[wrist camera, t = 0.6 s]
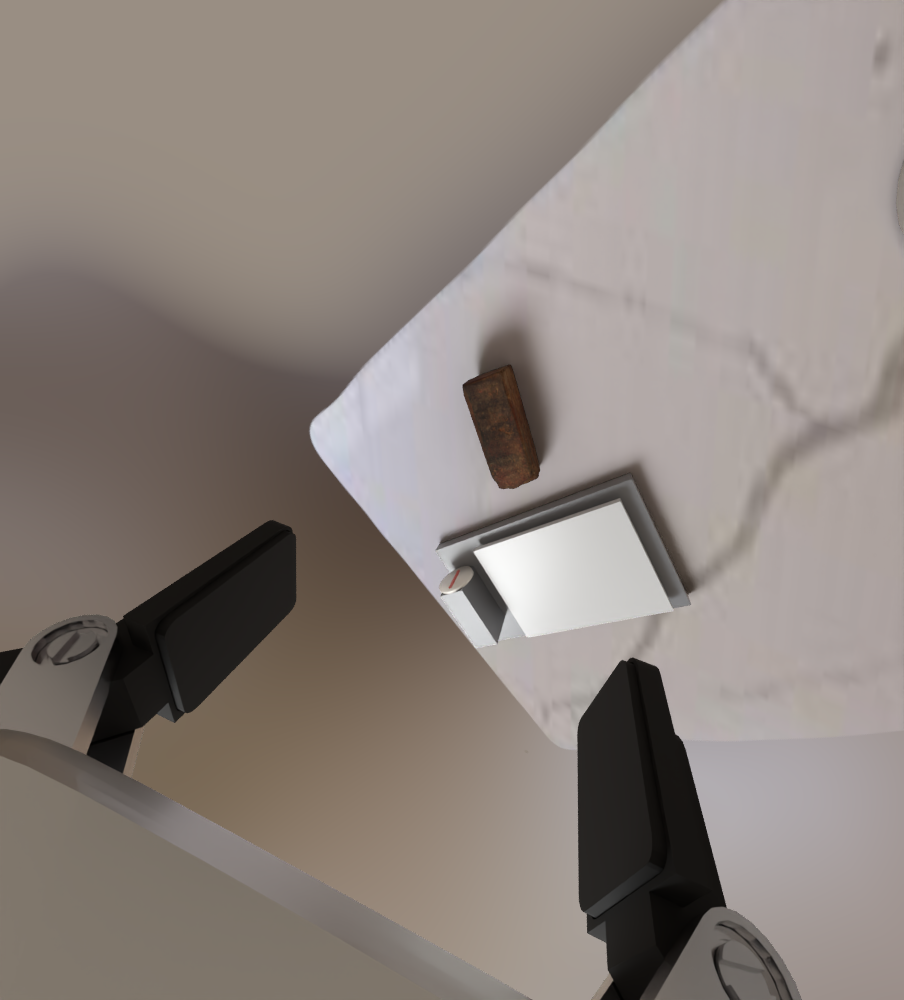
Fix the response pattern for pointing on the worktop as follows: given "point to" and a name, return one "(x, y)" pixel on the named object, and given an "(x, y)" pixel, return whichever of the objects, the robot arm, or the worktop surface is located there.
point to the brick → (502, 427)
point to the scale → (561, 567)
